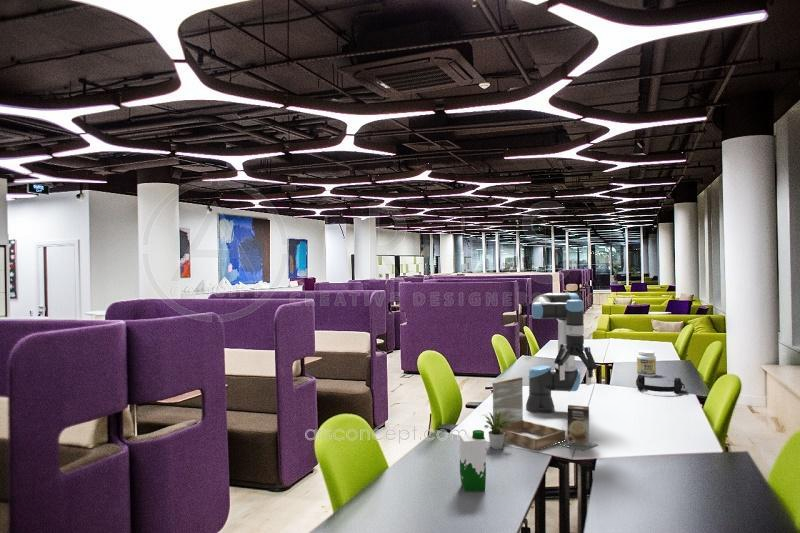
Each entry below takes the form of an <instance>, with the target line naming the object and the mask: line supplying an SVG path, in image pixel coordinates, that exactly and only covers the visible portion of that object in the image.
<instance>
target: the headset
mask: <svg viewBox="0 0 800 533" xmlns="http://www.w3.org/2000/svg"><path fill="white" fill-rule="evenodd" d="M645 381H646V380H645V377H644V375H638V374H637V377H636V380H635V385H636V387H637V390H640V391H641V390H642V391H643V390H645V391H651V392H659V393H663V392H664V393H666V392H667V393H669V392H674V393H675V394H681V392H682V389H684V390H685V389H686V387H685V384H684V382H682V379H681V378H680V377H675V378H674V379H673V386H658V385H649V384H646V383H645ZM668 381H670V382H671V380H669V379H668Z"/></svg>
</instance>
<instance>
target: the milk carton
mask: <svg viewBox="0 0 800 533" xmlns="http://www.w3.org/2000/svg"><path fill="white" fill-rule="evenodd" d="M486 447H487V442H486V438H485V431H484V430H482V429H481V430H480V429H475V430H472V434H469V433H468V434H460V435H459V476H460V482H461V483H460V484H461V486H462V488H463V490H464V492H465V493H470V492H473V493H474V492H486V480H487V479H486V478H487V454H486V453H487V451H486V450H487V449H486Z"/></svg>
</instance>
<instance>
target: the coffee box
mask: <svg viewBox="0 0 800 533" xmlns="http://www.w3.org/2000/svg"><path fill="white" fill-rule="evenodd" d="M566 430H567V434H566V435H567V436H566V437H567V439H566V440H567V444H568V445H577V446H587V447H589V442H590V407H589V406H583V405H573V404H568V405H567V429H566Z"/></svg>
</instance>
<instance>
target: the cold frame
mask: <svg viewBox="0 0 800 533" xmlns="http://www.w3.org/2000/svg"><path fill="white" fill-rule="evenodd" d="M523 378H524V377H522V376H520V377H514V378H509V379H508V378H507V379H505V380H504V379H503V380H500V381H495V382H494V381H493V382H492V416H493V417H494V421H495V411H496V413H497V414H498V412H499V411H500V410H501V412H500V414H501V413H502V412H504V413H503V414H502V415H501V417H500V419H499V422H500V421H501V420H502V419H503V418H504V417H505V416H506V415H508V414H509V415H508V416H507V417H510V418H507V417H506V418H505V420H503V422H504V421H514V422H508V423H505V424H504V425H506V426H507V425H510V426H508V427H510V428H503V426H504V425H503V426H502V429H503V430H502V429H501V430H502V431H503V432H505V436H504V441H506V442H509V443H512V444H516V445H519V446H522V447H525V448H529V449H532V450H535V449H536V451H539V450H542V449H545V448H548V447H550V445H551V446H554V445H556V444H555V443H557V444H558V442H562V441H564V440H565V441H566V430H564V429H560V428H555V427H552V426H549V425H543V424H540V423H536V422H532V421H528V420H524V419H523V418H524V415H523V414H524V413H523V412H524V411H523V403H524V402H523V400H524V399H523V396H524V395H523V380H524V379H523ZM504 427H505V426H504ZM522 431H525V432H528V433H532V434H535V435H539V436H540V437H537V438H536V437H533V436H529V435H526V434H522V433H520V432H522ZM553 444H554V445H553ZM547 446H548V447H547ZM544 447H545V448H544ZM541 448H542V449H541ZM538 449H539V450H538Z"/></svg>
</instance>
